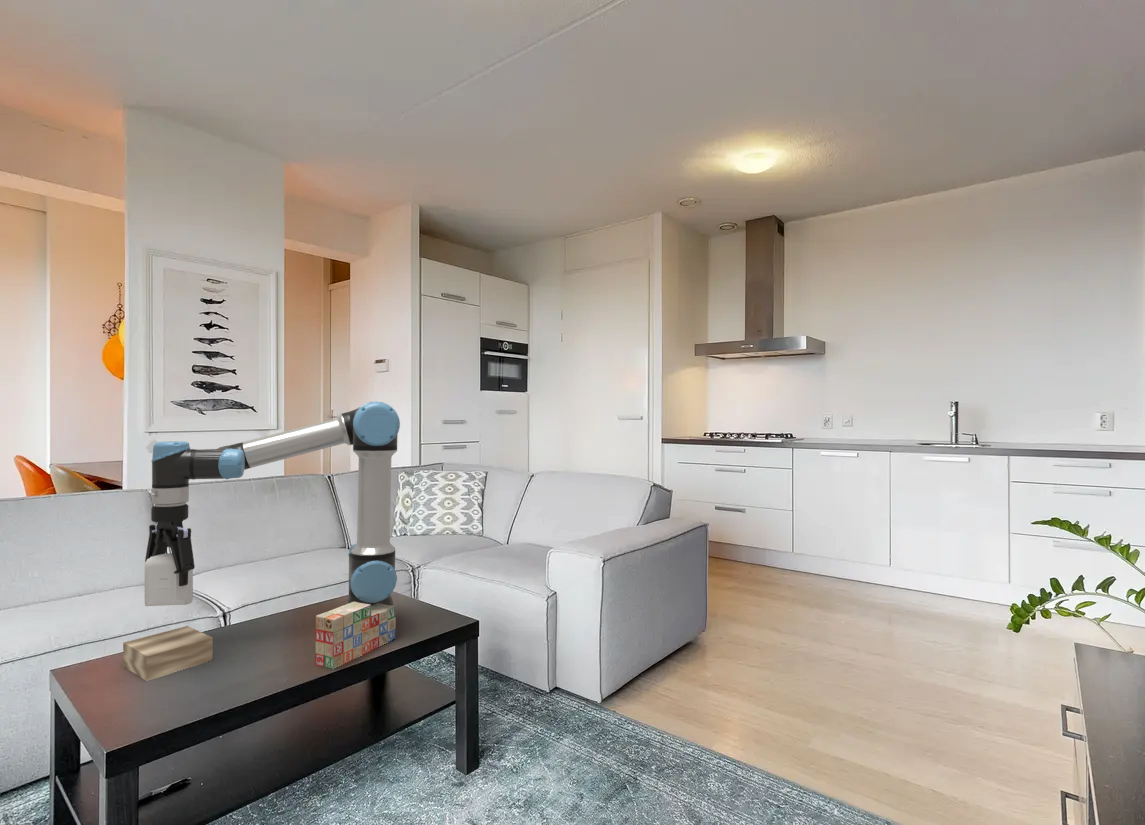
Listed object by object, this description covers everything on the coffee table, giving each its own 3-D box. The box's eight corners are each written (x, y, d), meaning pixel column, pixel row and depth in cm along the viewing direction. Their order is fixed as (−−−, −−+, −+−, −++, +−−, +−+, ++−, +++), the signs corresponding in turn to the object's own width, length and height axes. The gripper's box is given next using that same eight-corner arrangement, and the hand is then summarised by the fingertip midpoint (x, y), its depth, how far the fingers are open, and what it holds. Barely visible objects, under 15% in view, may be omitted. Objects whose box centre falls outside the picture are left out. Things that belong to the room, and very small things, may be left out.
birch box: (212, 661, 146) (212, 637, 146) (146, 682, 134) (147, 656, 134) (187, 648, 153) (187, 625, 154) (122, 667, 142) (123, 642, 142)
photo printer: (140, 607, 141) (141, 556, 141) (151, 602, 145) (151, 552, 145) (186, 606, 142) (187, 555, 142) (195, 600, 147) (196, 551, 147)
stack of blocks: (378, 636, 163) (378, 591, 163) (395, 640, 160) (396, 594, 160) (314, 665, 143) (315, 615, 143) (333, 670, 141) (333, 618, 141)
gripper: (128, 502, 146) (127, 593, 146) (179, 510, 136) (178, 607, 135) (161, 499, 153) (160, 585, 152) (212, 505, 142) (211, 598, 142)
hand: (168, 595), depth 144 cm, fingers closed on photo printer, 9 cm apart
